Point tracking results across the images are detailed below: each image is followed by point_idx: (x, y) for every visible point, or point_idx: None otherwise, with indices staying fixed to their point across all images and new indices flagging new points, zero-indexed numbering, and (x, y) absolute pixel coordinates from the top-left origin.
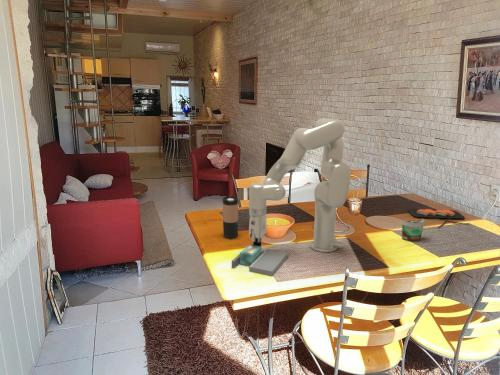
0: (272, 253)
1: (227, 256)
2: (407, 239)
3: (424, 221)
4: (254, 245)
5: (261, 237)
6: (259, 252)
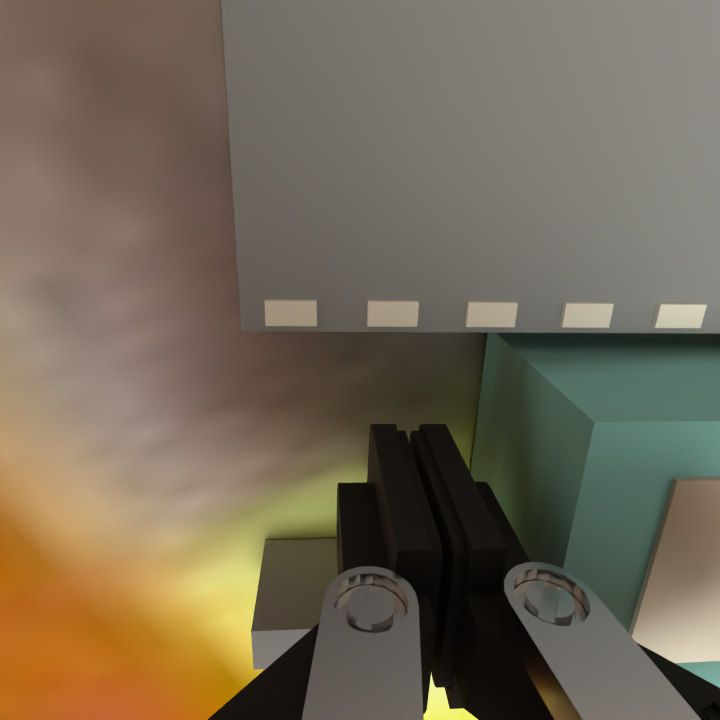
0: (454, 109)
1: None
2: None
3: None
4: None
5: (336, 679)
6: (670, 375)
